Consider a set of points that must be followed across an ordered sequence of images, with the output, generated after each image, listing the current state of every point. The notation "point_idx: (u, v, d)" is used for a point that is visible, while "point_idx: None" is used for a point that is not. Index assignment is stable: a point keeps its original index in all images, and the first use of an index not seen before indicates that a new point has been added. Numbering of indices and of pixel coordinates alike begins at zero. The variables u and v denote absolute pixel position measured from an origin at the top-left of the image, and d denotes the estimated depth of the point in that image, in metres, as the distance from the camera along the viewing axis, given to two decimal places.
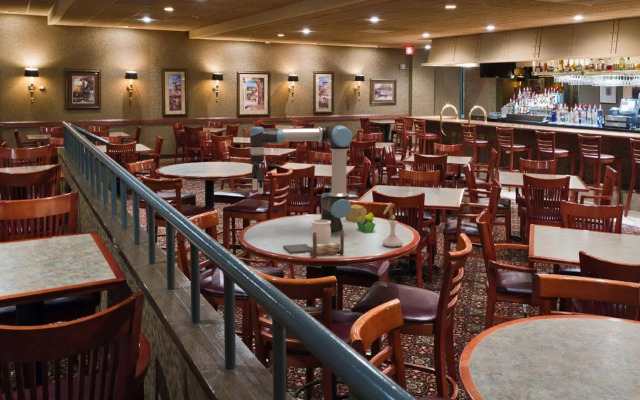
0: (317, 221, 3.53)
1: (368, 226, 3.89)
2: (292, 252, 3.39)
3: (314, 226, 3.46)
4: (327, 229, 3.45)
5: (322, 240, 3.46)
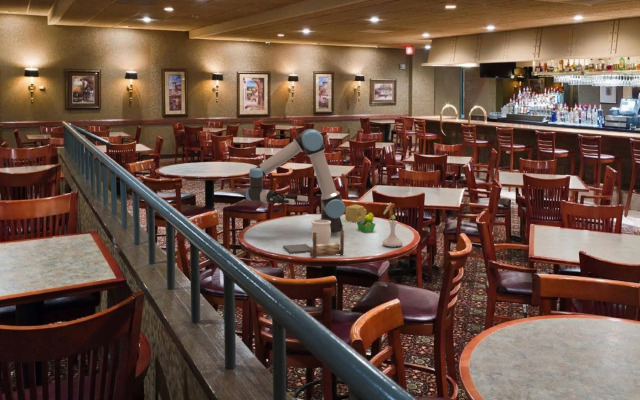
0: (317, 221, 3.53)
1: (368, 226, 3.89)
2: (292, 252, 3.39)
3: (314, 226, 3.46)
4: (327, 229, 3.45)
5: (322, 240, 3.46)
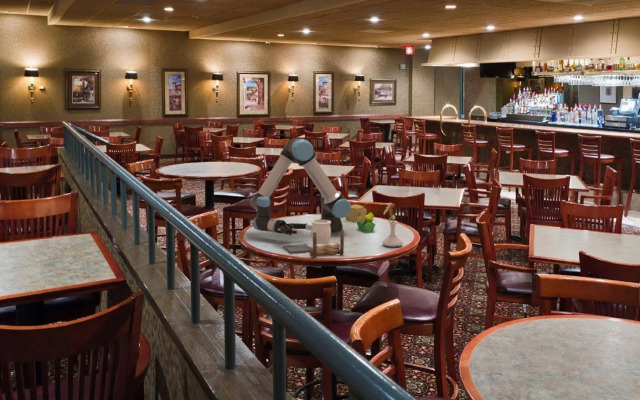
0: (317, 221, 3.53)
1: (368, 226, 3.89)
2: (292, 252, 3.39)
3: (314, 226, 3.46)
4: (327, 229, 3.45)
5: (322, 240, 3.46)
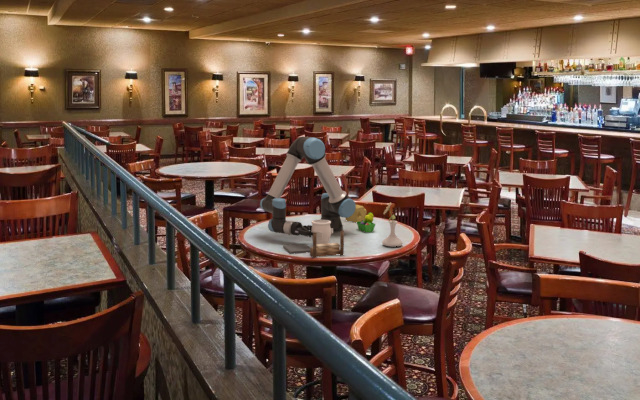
0: (317, 221, 3.53)
1: (368, 226, 3.89)
2: (292, 252, 3.39)
3: (314, 226, 3.46)
4: (327, 229, 3.45)
5: (322, 240, 3.46)
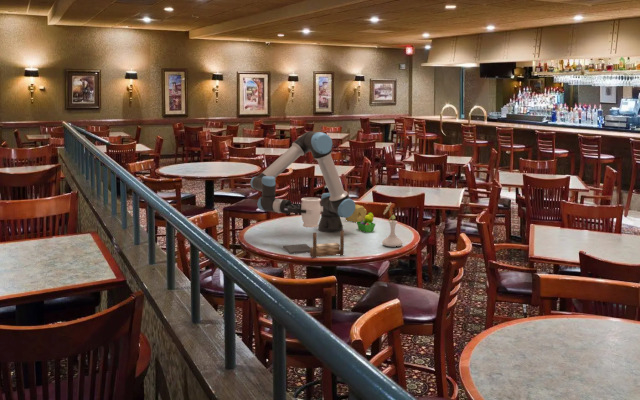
0: (307, 199, 3.49)
1: (368, 226, 3.89)
2: (292, 252, 3.39)
3: (304, 203, 3.42)
4: (317, 206, 3.41)
5: (311, 217, 3.41)
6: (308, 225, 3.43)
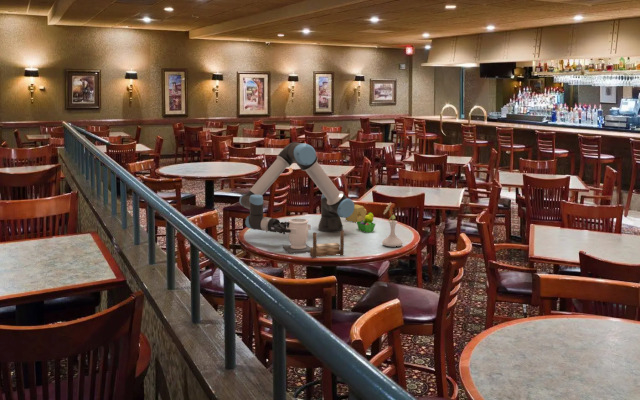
0: (294, 220, 3.48)
1: (368, 226, 3.89)
2: (292, 252, 3.39)
3: (291, 225, 3.41)
4: (304, 228, 3.41)
5: (299, 239, 3.41)
6: (295, 247, 3.43)
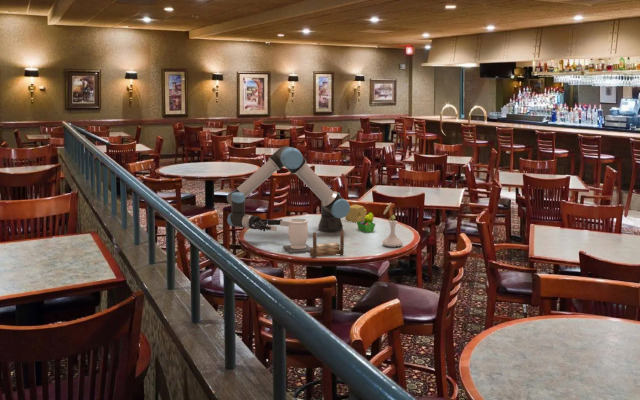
0: (294, 220, 3.49)
1: (368, 226, 3.89)
2: (292, 252, 3.39)
3: (291, 225, 3.42)
4: (304, 228, 3.41)
5: (299, 239, 3.41)
6: (295, 247, 3.43)
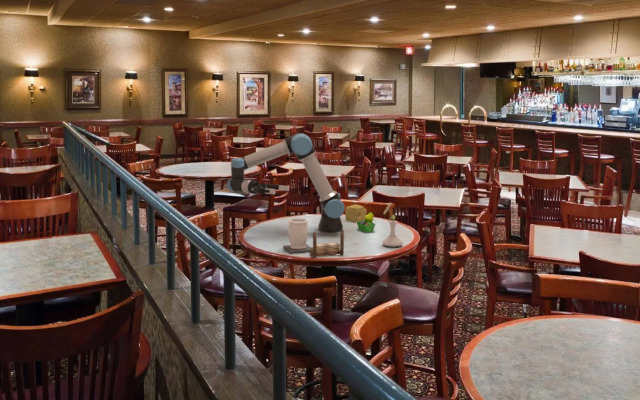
0: (294, 220, 3.49)
1: (368, 226, 3.89)
2: (292, 252, 3.39)
3: (291, 225, 3.42)
4: (304, 228, 3.41)
5: (299, 239, 3.41)
6: (295, 247, 3.43)
